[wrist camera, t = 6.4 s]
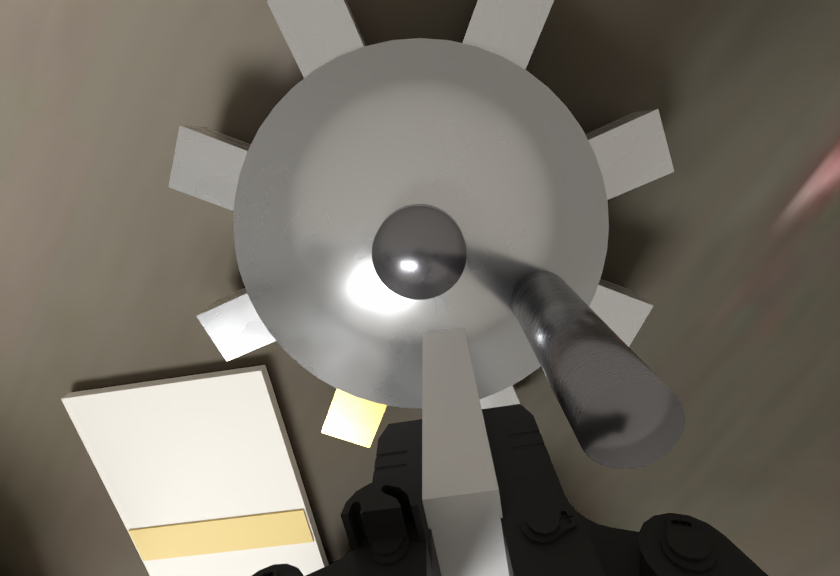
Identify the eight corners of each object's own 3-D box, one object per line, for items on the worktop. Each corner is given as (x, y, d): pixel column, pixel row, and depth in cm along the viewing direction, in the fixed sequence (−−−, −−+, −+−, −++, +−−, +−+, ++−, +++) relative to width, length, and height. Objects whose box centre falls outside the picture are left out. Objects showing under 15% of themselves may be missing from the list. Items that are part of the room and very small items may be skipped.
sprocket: (519, 474, 19) (587, 724, 11) (155, 343, 18) (-89, 525, 9) (746, 107, 14) (1183, 62, 6) (267, -131, 13) (-47, -661, 4)
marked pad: (196, 648, 24) (191, 660, 24) (70, 392, 19) (59, 399, 19) (350, 633, 24) (348, 645, 23) (265, 364, 18) (260, 371, 18)
